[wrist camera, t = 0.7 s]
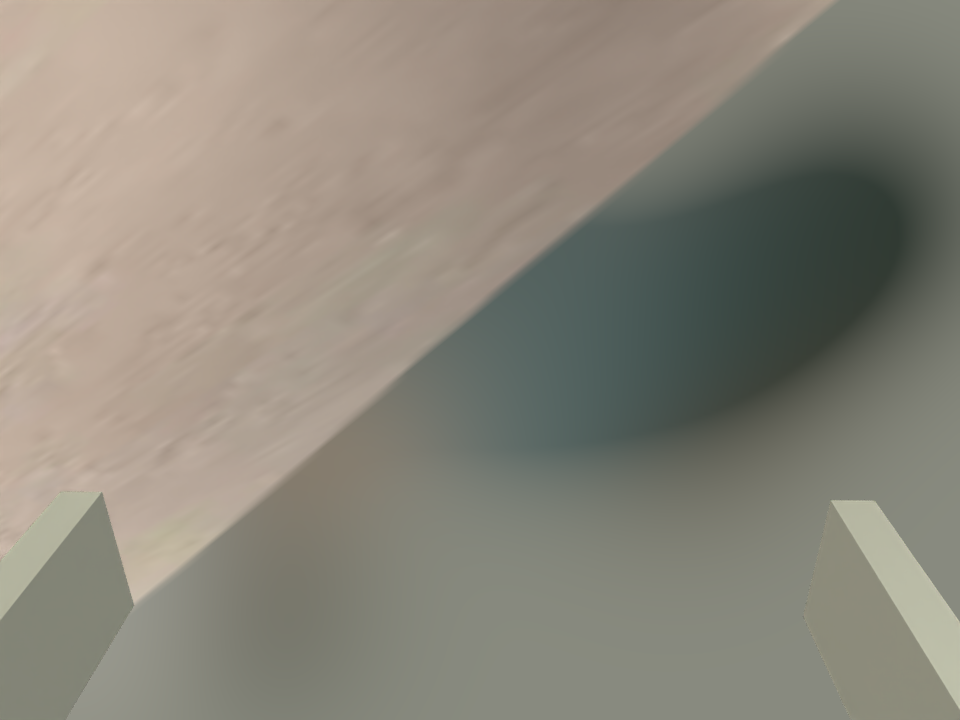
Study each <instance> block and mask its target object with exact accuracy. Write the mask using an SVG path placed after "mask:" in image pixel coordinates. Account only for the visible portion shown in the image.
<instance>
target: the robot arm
mask: <svg viewBox="0 0 960 720" xmlns="http://www.w3.org/2000/svg"><path fill="white" fill-rule="evenodd" d="M133 606H134V604H133V600H132V597H131V593H130V590H129V586H128V583H127V579H126V575H125V572H124V568H123V565H122V561H121V558H120V554H119V551H118V547H117V544H116V540H115V537H114V533H113V530H112V526H111V522H110V519H109V515H108V512H107V508H106V505H105V501H104V498H103V494H102V492H60V493H59V494H58V496H57V497H56V498H55V499H54V500H53V501H52V502H51V504H50V505H49V506H48V507H47V508H46V509H45V510H44V512H43V513H42V514H41V515H40V516H39V517H38V518H37V520H36V521H35V522H34V523H33V524H32V525H31V526H30V528H29V529H28V530H27V531H26V532H25V533H24V534H23V536H22V537H21V538H20V539H19V540H18V541H17V542H16V544H15V545H14V546H13V547H12V548H11V549H10V550H9V552H8V553H7V554H6V555H5V556H4V557H3V558H2V560H1V561H0V720H66V718H67V716H68V715H69V713H70V712H71V710H72V708H73V707H74V705H75V703H76V702H77V700H78V698H79V696H80V695H81V693H82V692H83V690H84V688H85V686H86V685H87V683H88V681H89V680H90V678H91V676H92V675H93V673H94V671H95V670H96V668H97V666H98V665H99V663H100V661H101V660H102V658H103V656H104V655H105V653H106V651H107V650H108V648H109V646H110V645H111V643H112V641H113V640H114V638H115V636H116V635H117V633H118V631H119V629H120V628H121V626H122V625H123V623H124V621H125V620H126V618H127V616H128V615H129V613H130V611H131V610H132V608H133ZM803 617H804V619H805V622H806V624H807V626H808V628H809V630H810V633H811V635H812V637H813V639H814V641H815V643H816V646H817V647H818V650H819V652H820V654H821V656H822V659H823V661H824V663H825V665H826V667H827V669H828V672H829V674H830V676H831V678H832V680H833V682H834V685H835V687H836V689H837V691H838V693H839V695H840V698H841V700H842V702H843V704H844V706H845V709H846V711H847V713H848V715H849V717H850V719H851V720H960V622H959V620H958V619H957V618H956V616H955V615H954V613H953V612H952V611H951V609H950V608H949V607H948V605H947V603H946V602H945V600H944V599H943V598H942V596H941V595H940V593H939V592H938V591H937V589H936V588H935V586H934V585H933V583H932V582H931V580H930V579H929V578H928V576H927V575H926V573H925V572H924V571H923V569H922V568H921V566H920V565H919V563H918V562H917V560H916V559H915V558H914V556H913V555H912V553H911V552H910V551H909V549H908V548H907V546H906V545H905V543H904V542H903V540H902V539H901V538H900V536H899V535H898V534H897V532H896V530H895V529H894V528H893V526H892V525H891V523H890V522H889V521H888V519H887V518H886V516H885V515H884V513H883V512H882V511H881V509H880V508H879V506H878V505H877V504H876V502H875V501H856V500H853V501H851V500H831V501H830V505H829V509H828V513H827V518H826V522H825V526H824V530H823V535H822V539H821V543H820V547H819V551H818V556H817V560H816V564H815V569H814V573H813V577H812V582H811V585H810V589H809V594H808V598H807V602H806V607H805V611H804V615H803Z"/></svg>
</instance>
